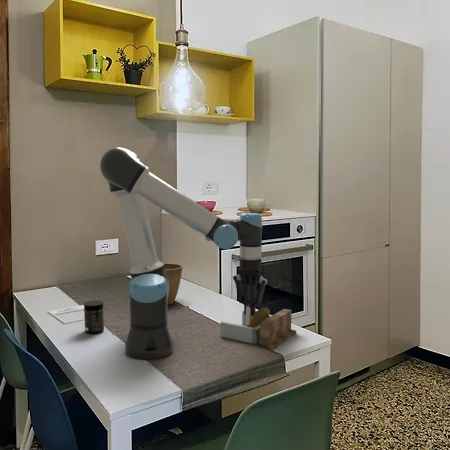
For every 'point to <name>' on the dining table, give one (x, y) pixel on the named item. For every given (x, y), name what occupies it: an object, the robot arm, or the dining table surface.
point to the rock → (259, 317)
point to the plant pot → (173, 280)
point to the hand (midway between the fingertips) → (249, 323)
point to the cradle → (240, 331)
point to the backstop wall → (276, 329)
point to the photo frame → (66, 310)
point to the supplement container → (94, 316)
